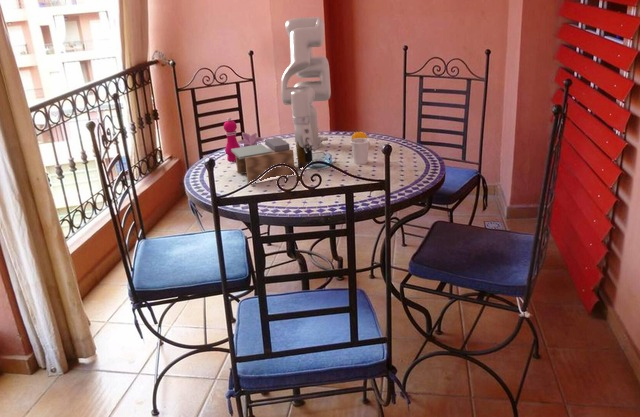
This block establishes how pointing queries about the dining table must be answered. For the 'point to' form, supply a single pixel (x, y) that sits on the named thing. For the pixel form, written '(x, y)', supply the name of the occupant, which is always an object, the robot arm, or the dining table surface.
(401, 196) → the dining table surface
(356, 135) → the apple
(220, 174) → the dining table surface
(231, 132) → the pepper mill
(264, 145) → the trapdoor
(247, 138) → the lily
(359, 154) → the dixie cup
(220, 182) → the dining table surface
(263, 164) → the stand
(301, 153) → the condiment
